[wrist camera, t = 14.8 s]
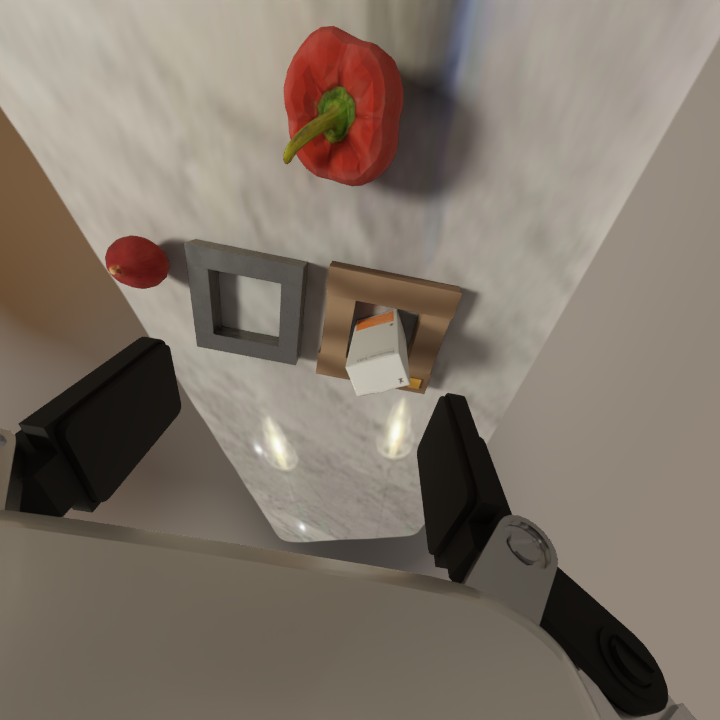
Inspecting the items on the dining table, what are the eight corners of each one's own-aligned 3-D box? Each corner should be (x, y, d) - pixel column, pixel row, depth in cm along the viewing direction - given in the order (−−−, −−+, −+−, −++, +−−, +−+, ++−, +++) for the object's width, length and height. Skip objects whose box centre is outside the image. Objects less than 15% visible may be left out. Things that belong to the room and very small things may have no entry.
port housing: (332, 260, 37) (328, 267, 34) (458, 286, 37) (463, 294, 35) (319, 364, 45) (315, 374, 43) (422, 383, 46) (424, 395, 43)
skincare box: (397, 306, 39) (401, 352, 29) (405, 334, 41) (412, 386, 31) (354, 319, 41) (343, 367, 31) (364, 345, 43) (357, 398, 33)
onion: (163, 286, 40) (119, 308, 33) (126, 248, 38) (70, 264, 31) (191, 262, 38) (149, 281, 32) (154, 221, 36) (100, 232, 29)
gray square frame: (195, 239, 37) (184, 243, 35) (308, 262, 37) (303, 267, 35) (206, 338, 44) (197, 346, 42) (299, 356, 45) (295, 365, 42)
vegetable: (335, 209, 34) (319, 220, 25) (275, 111, 30) (231, 86, 21) (423, 143, 30) (437, 131, 22) (367, 21, 26) (359, -54, 17)
